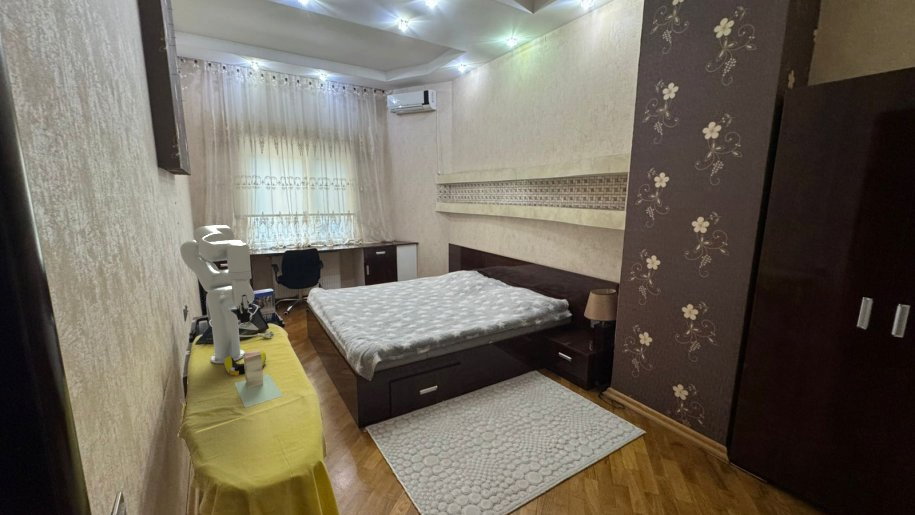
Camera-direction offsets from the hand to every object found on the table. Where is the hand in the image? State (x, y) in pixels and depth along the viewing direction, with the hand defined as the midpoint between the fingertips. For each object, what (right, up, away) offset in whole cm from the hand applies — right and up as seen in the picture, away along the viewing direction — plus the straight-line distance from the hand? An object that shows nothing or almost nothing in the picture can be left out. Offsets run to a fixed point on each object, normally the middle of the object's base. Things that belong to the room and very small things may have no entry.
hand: (243, 319), depth 144 cm
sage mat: (+10, -25, -9) cm, 28 cm away
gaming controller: (-3, -22, +7) cm, 23 cm away
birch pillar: (+7, -23, -5) cm, 25 cm away
